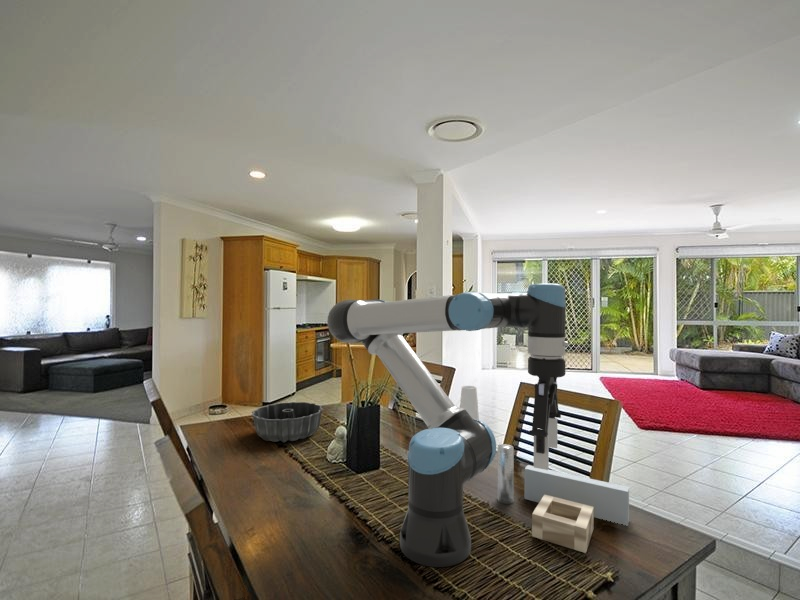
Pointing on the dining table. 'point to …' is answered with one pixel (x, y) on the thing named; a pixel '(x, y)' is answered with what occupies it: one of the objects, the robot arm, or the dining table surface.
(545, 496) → the square wooden frame
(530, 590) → the dining table surface
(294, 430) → the bundt pan
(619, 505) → the wall
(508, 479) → the metal peg
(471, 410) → the champagne flute
